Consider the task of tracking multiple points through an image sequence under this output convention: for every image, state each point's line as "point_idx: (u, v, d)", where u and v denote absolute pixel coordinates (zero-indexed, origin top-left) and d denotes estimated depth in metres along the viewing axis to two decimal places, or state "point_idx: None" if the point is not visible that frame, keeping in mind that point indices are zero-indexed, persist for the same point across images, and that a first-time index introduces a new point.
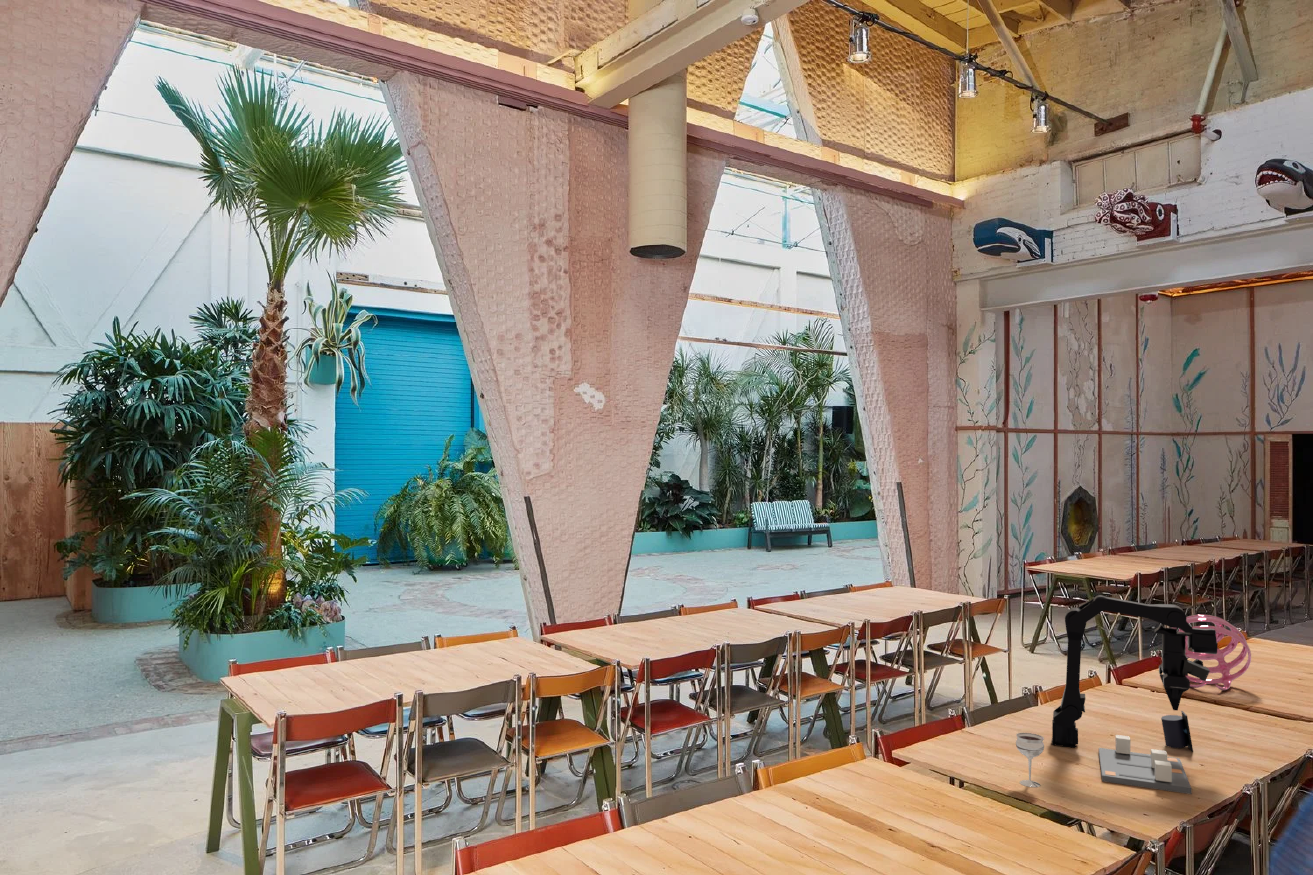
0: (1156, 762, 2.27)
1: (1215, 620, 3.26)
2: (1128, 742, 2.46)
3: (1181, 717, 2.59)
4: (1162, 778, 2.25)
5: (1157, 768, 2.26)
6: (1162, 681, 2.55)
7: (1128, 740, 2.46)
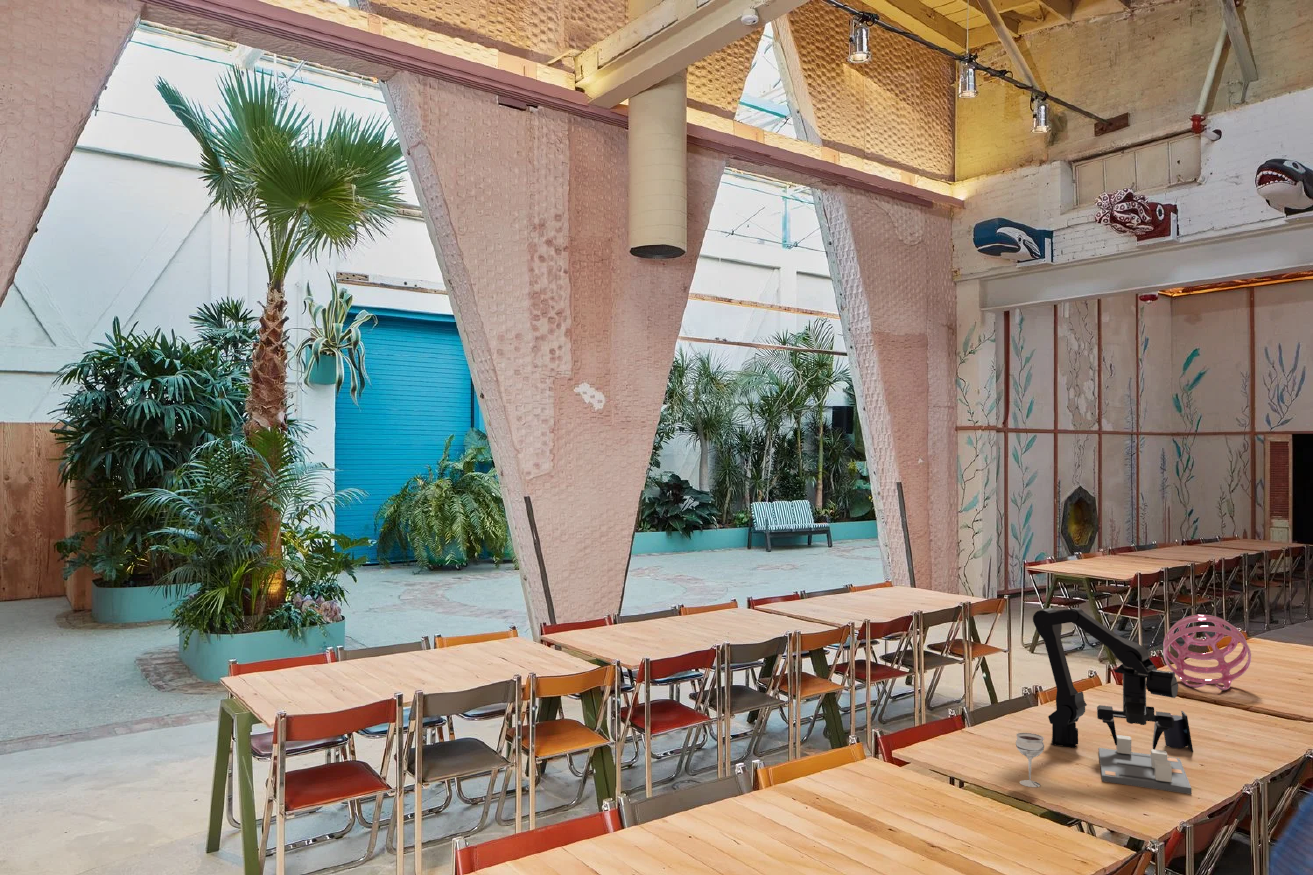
0: (1156, 762, 2.27)
1: (1215, 620, 3.26)
2: (1129, 742, 2.46)
3: (1181, 717, 2.59)
4: (1162, 778, 2.25)
5: (1157, 768, 2.26)
6: (1154, 727, 2.47)
7: (1129, 740, 2.46)
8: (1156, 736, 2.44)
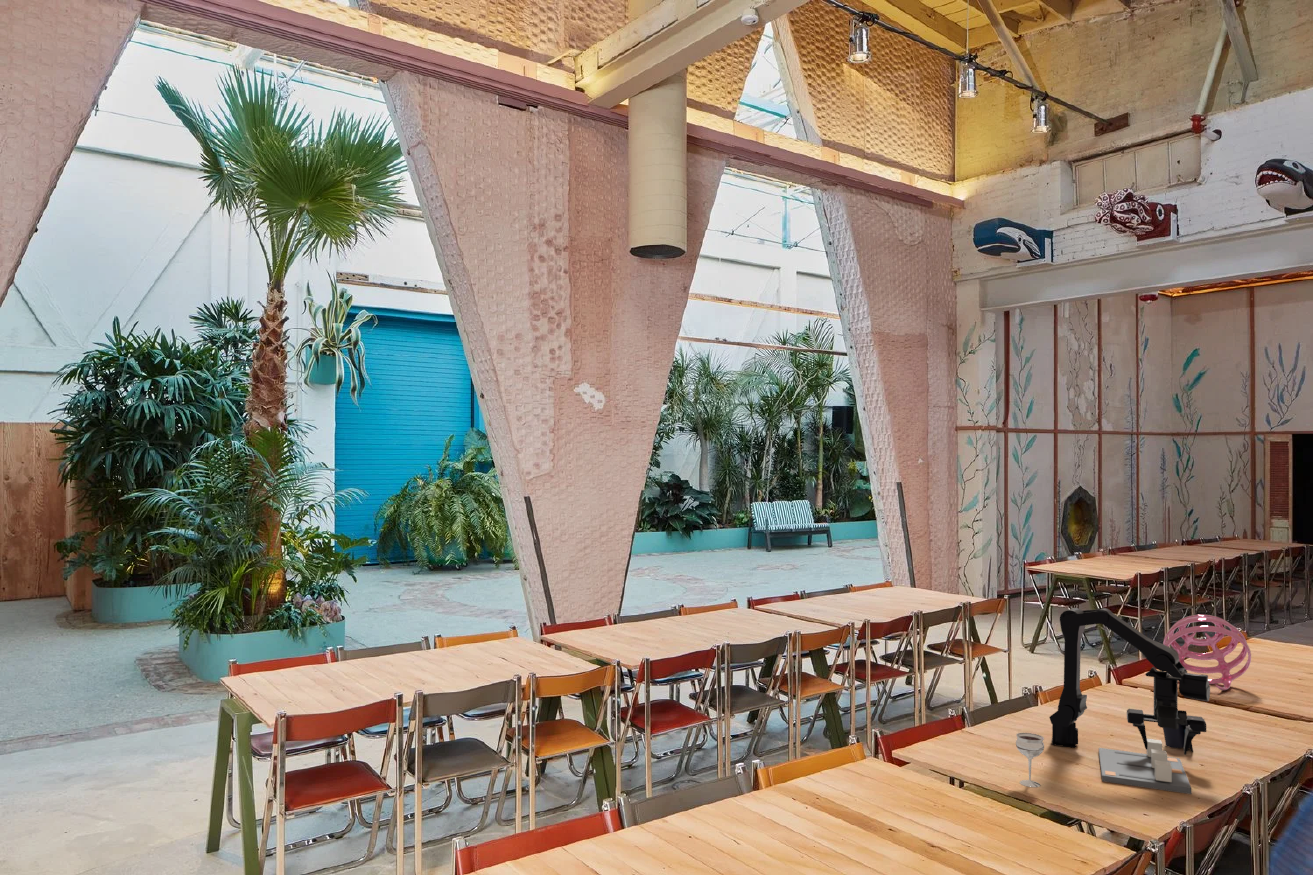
0: (1156, 762, 2.27)
1: (1215, 620, 3.26)
2: (1160, 746, 2.43)
3: None
4: (1162, 778, 2.25)
5: (1157, 768, 2.26)
6: (1185, 731, 2.44)
7: (1160, 744, 2.43)
8: (1188, 740, 2.40)
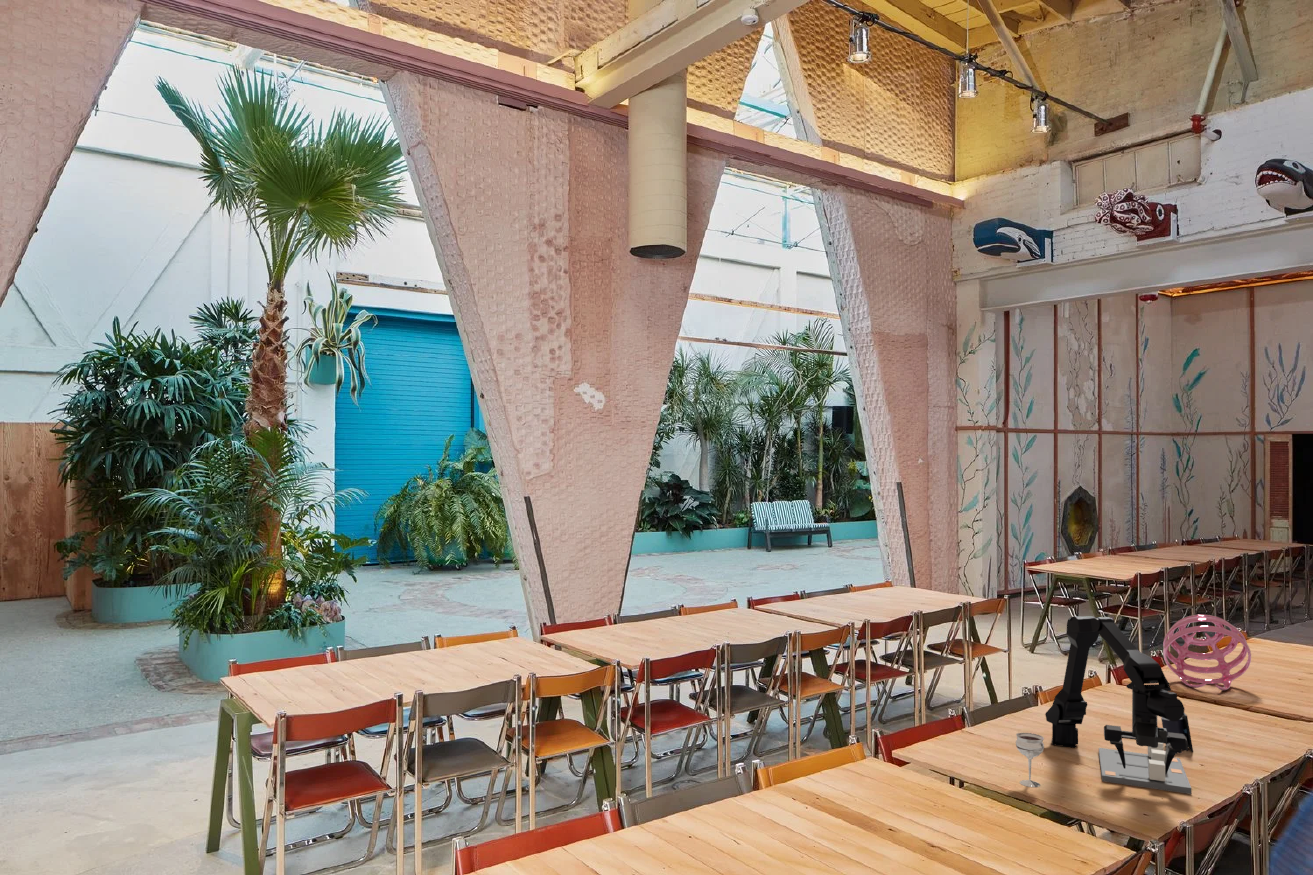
0: (1150, 761, 2.28)
1: (1215, 620, 3.26)
2: (1161, 746, 2.43)
3: None
4: (1156, 777, 2.26)
5: (1151, 767, 2.26)
6: (1166, 749, 2.29)
7: (1161, 744, 2.43)
8: (1168, 759, 2.25)
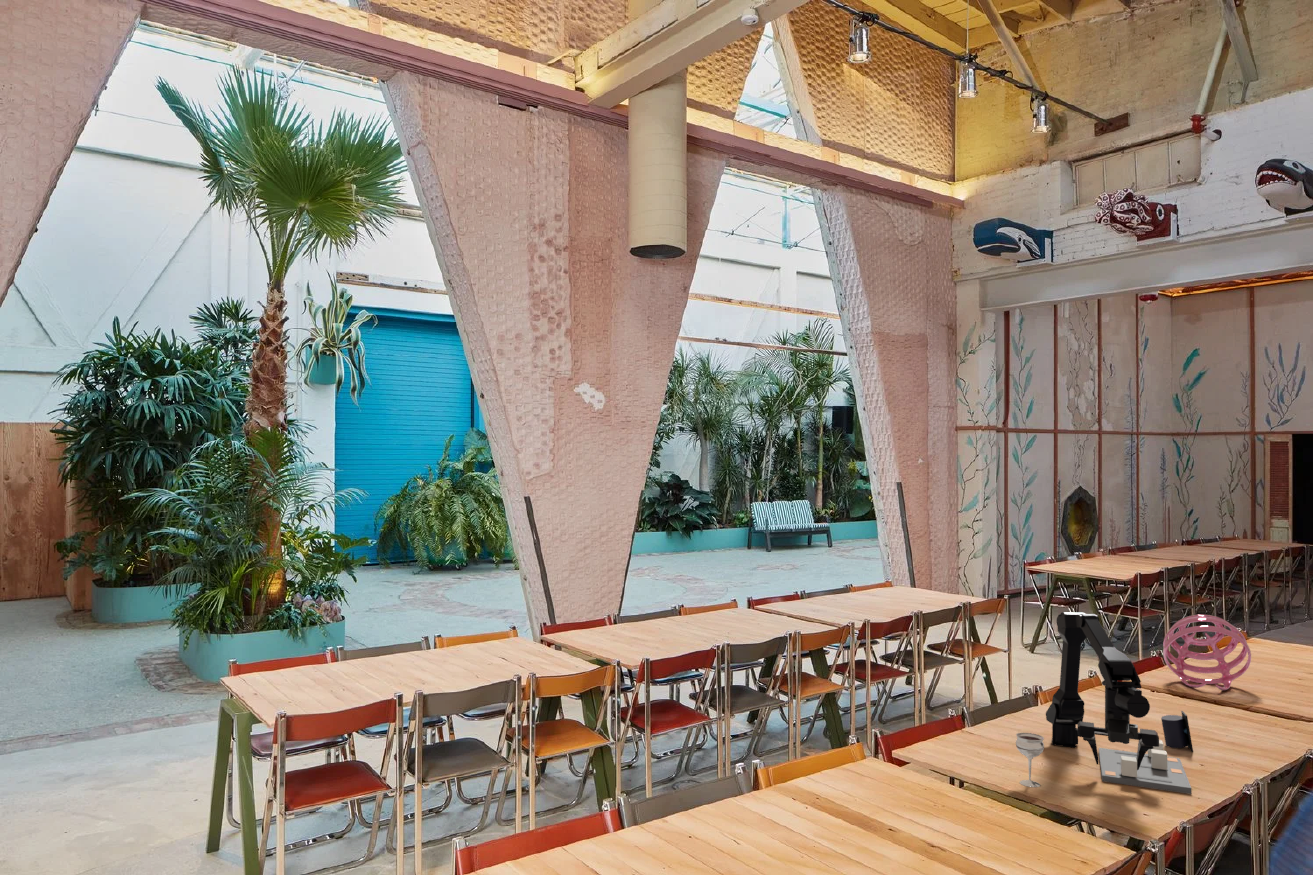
0: (1122, 757, 2.30)
1: (1215, 620, 3.26)
2: (1161, 746, 2.43)
3: (1181, 717, 2.59)
4: (1128, 773, 2.28)
5: (1123, 763, 2.29)
6: (1138, 745, 2.31)
7: (1161, 744, 2.43)
8: (1140, 755, 2.28)
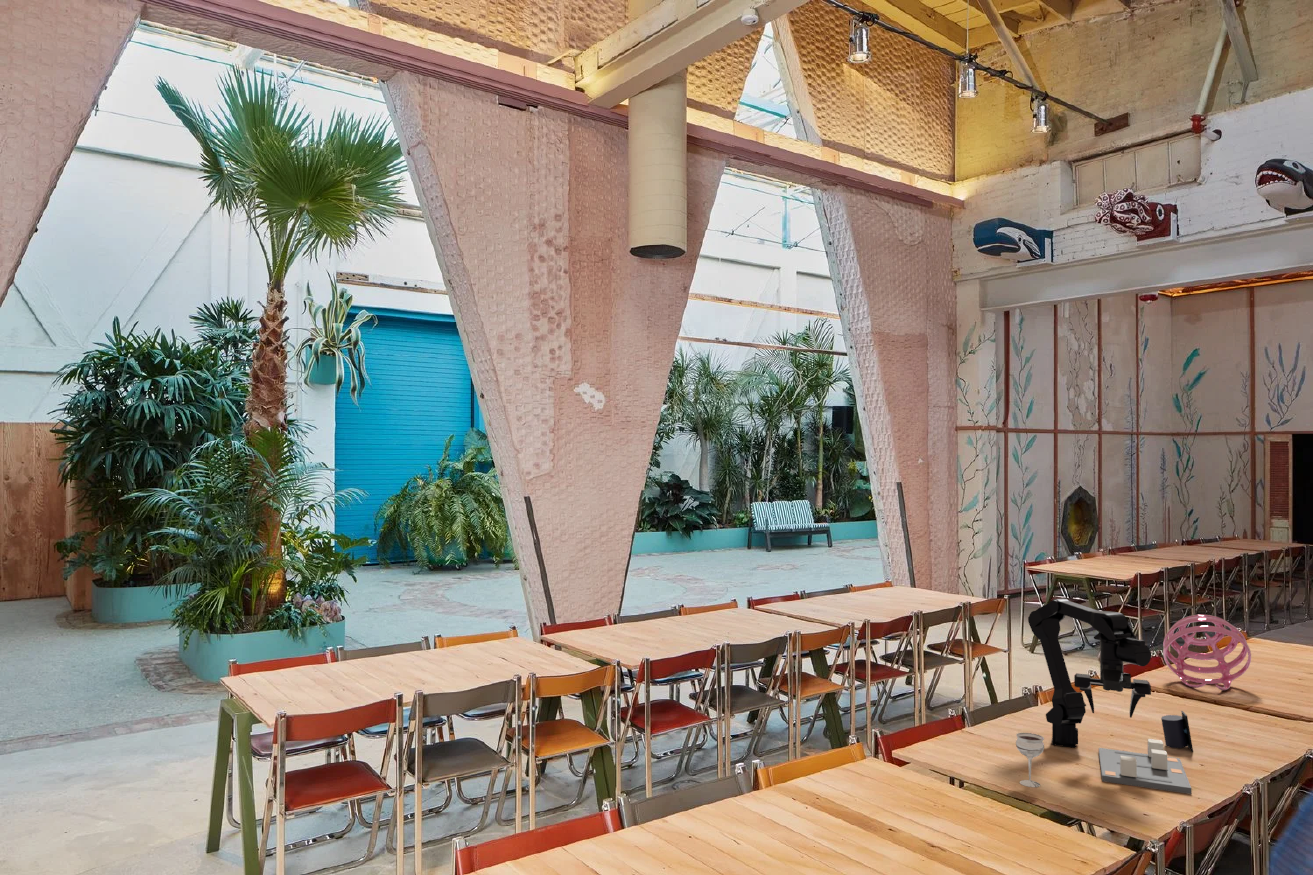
0: (1122, 757, 2.30)
1: (1215, 620, 3.26)
2: (1161, 746, 2.43)
3: (1181, 717, 2.59)
4: (1127, 773, 2.28)
5: (1122, 763, 2.29)
6: (1131, 695, 2.45)
7: (1161, 744, 2.43)
8: (1133, 703, 2.42)
